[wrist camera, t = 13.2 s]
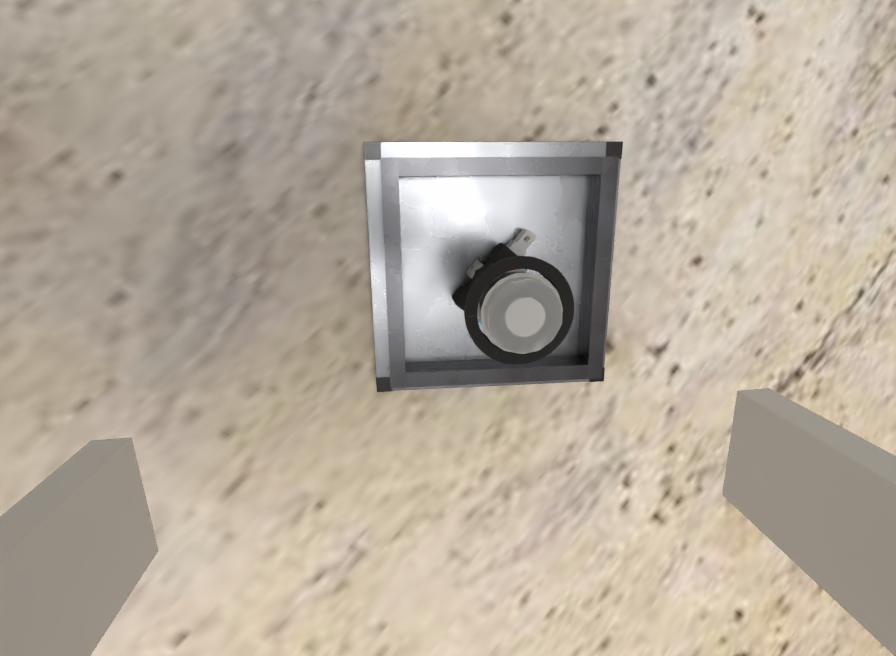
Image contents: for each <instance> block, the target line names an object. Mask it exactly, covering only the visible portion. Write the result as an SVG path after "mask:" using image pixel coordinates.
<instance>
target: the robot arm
mask: <svg viewBox="0 0 896 656" xmlns="http://www.w3.org/2000/svg"><path fill="white" fill-rule="evenodd" d="M722 495H723V496H724V497H725V498H726V499H727V500H728V501H729V502H730V503H731V504H732V505H734V506H735V507H736V508H737V509H738V510H739V511H740V512H741V513H742V514H743V515H744V516H745V517H746V518H747V519H749V520H750V521H751V522H752V523H753V524H754V525H755V526H756V527H757V528H758V529H759V530H760V531H761V532H762V533H764V534H765V535H766V536H767V537H768V538H769V539H770V540H771V541H772V542H773V543H774V544H775V545H776V546H777V547H779V548H780V549H781V550H782V551H783V552H784V553H785V554H786V555H787V556H788V557H789V558H790V559H791V560H792V561H794V562H795V563H796V564H797V565H798V566H799V567H800V568H801V569H802V570H803V571H804V572H805V573H806V574H807V575H809V576H810V577H811V578H812V579H813V580H814V581H815V582H816V583H817V584H818V585H819V586H820V587H821V588H822V589H824V590H825V591H826V592H827V593H828V594H829V595H830V596H831V597H832V598H833V599H834V600H835V601H836V602H837V603H839V604H840V605H841V606H842V607H843V608H844V609H845V610H846V611H847V612H848V613H849V614H850V615H851V616H852V617H853V618H855V619H856V620H857V621H858V622H859V623H860V624H861V625H862V626H863V627H864V628H865V629H866V630H867V631H868V632H870V633H871V634H872V635H873V636H874V637H875V638H876V639H877V640H878V641H879V642H880V643H881V644H882V645H883V646H885V647H886V648H887V649H888V650H889V651H890V652H891V653H892V654H893V655H894V656H896V456H894V455H893V454H891V453H889V452H887V451H885V450H883V449H881V448H879V447H878V446H876V445H874V444H872V443H870V442H868V441H866V440H864V439H863V438H861V437H859V436H857V435H855V434H853V433H851V432H849V431H848V430H846V429H844V428H842V427H840V426H838V425H836V424H835V423H833V422H831V421H829V420H827V419H825V418H823V417H821V416H820V415H818V414H816V413H814V412H812V411H810V410H808V409H806V408H805V407H803V406H801V405H799V404H797V403H795V402H793V401H791V400H790V399H788V398H786V397H784V396H782V395H780V394H778V393H776V392H775V391H773V390H771V389H769V388H767V389H754V390H741V391H737V398H736V405H735V411H734V418H733V425H732V432H731V439H730V446H729V452H728V459H727V466H726V473H725V480H724V487H723V493H722ZM157 552H158V547H157V543H156V538H155V534H154V530H153V526H152V522H151V517H150V513H149V509H148V505H147V501H146V496H145V492H144V488H143V484H142V480H141V476H140V471H139V467H138V463H137V459H136V455H135V450H134V446H133V442H132V438H119V439H106V440H93V441H90V442H89V443H88V444H87V445H86V446H84V447H83V448H82V449H81V450H80V451H78V452H77V453H76V454H75V455H74V456H72V457H71V458H70V459H69V460H68V461H66V462H65V463H64V464H63V465H62V466H60V467H59V468H58V469H57V470H56V471H55V472H53V473H52V474H51V475H50V476H49V477H47V478H46V479H45V480H44V481H43V482H41V483H40V484H39V485H38V486H37V487H35V488H34V489H33V490H32V491H31V492H29V493H28V494H27V495H26V496H25V497H23V498H22V499H21V500H20V501H19V502H17V503H16V504H15V505H14V506H13V507H12V508H10V509H9V510H8V511H7V512H6V513H4V514H3V515H2V516H1V517H0V656H90V655H91V654H92V652H93V651H94V649H95V647H96V646H97V644H98V643H99V641H100V640H101V638H102V637H103V635H104V634H105V632H106V630H107V629H108V627H109V626H110V624H111V623H112V621H113V620H114V618H115V617H116V615H117V614H118V612H119V610H120V609H121V607H122V606H123V604H124V603H125V601H126V600H127V598H128V597H129V595H130V593H131V592H132V590H133V589H134V587H135V586H136V584H137V583H138V581H139V580H140V578H141V576H142V575H143V573H144V572H145V570H146V569H147V567H148V566H149V564H150V563H151V561H152V560H153V558H154V556H155V555H156V553H157Z"/></svg>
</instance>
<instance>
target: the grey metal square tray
mask: <svg viewBox="0 0 896 656" xmlns="http://www.w3.org/2000/svg"><path fill="white" fill-rule="evenodd" d="M622 145H623V142H364V157H365V174H366V193H367V212H368V231H369V249H370V268H371V287H372V306H373V325H374V343H375V362H376V383H377V392H385V391H394V390H415V389H436V388H458V387H479V386H500V385H521V384H543V383H564V382H585V381H590V382H597V381H604V369H605V368H604V361H605V349H606V336H607V324H608V311H609V299H610V286H611V274H612V261H613V249H614V236H615V224H616V211H617V199H618V186H619V174H620V161H621V157H622ZM522 229H526V230H530V231H531V232H532V233H533V234H534V235H535V236H536V239H535V240H534V241H533V242H532V244H531V245H530V246H529V247H528V249H527V250H526V252H527V253H526V255H525V256H531V257H535V258H539V259H541V260H543V261H546V262H548V263H549V264H551V265H553V266H554V267H555V268H557V269H558V270H559V271H560V272H561V273H562V275H563V276H564V277H565V278H566V280H567V282H568V283H569V286H570V288H571V291H572V294H573V298H574V316H573V321H572V324H571V327H570V329H569V332H568V333H567V335H566V337H565V338H564V340H563V341H562V342H561V344H560V345H559V346H558V347H557V348H556V349H555V350H554V351H552V352H551V353H550V354H548V355H547V356H545V357H544V358H542V359H540V360H537V361H534V362H531V363H527V364H519V365H515V364H506V363H501V362H499V361H496V360H494V359H492V358H490V357H488V356H487V355H485V354H484V353H483V352H482V351H481V350H480V349H479V348H478V347H477V346H476V345H475V344H474V342H473V340H472V339H471V337H470V335H469V333H468V330H467V327H466V323H465V317H464V311H463V310H462V309H460V308H459V307H458V306H457V305H455V303H454V301H453V299H452V295H453V294H454V292H455V291H456V290H457V289H458V288H459V287H460V286H467V285H468V284H469V283H470V282H471V280H472V278H470V277H469V276H468V275H467V273H466V272H467V270H468V269H469V268H470V267H471V266H472V264H473V263H474V262H475V261H476V260H478V261H479V262H480V263H481V264H482V265H484V264H485V263H486V262H487V261H488V259H489V258H490V256H491V254H492V251H493V250H494V248H495V247H496V246H497V245H498V244H499V243H503V244H505V245H507V244H508V243H509V242H510V240H512V241H513V240H514V239H515V238H516V237H517V236H518V234H519V233H520V232H521V231H522ZM525 240H526V237H525V238H524V241H525ZM529 241H530V240H529ZM529 241H528V242H529ZM473 267H474V266H473ZM527 273H534V274H536V275H538V276H541V277H543V276H542V275H541V274H540V273H539V272H537V271H534V270H529V269H528V270H527ZM543 278H544V277H543ZM478 324H479V327H480V330H481V331H482V332H483V333H484V334H485V335H486V333H485V332H484V330H483V327H482V324H480V323H478ZM486 336H487V335H486Z"/></svg>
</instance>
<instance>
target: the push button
mask: <svg viewBox="0 0 896 656" xmlns="http://www.w3.org/2000/svg"><path fill="white" fill-rule="evenodd" d="M525 237H526V240H525V241H524V238H525ZM535 239H536V236H535V235H534V234H533V233H532V232H531V231H530V230H526V229H522V231H521V232H520V233H519V234H518V236H517V237H516V238H515V239H514V240H513V241H512V240H510V242H509V243H508V244H507V245H505V244H503V243H499V244H498V245H497V246H496V247H495V248H494V250H493V251H492V254H491V256H490V258H489V259H488V261H487V262H486V263H485V264H484V265H482V264H481V263H480V262H479V261H478V260H476V261H475V262H474V263H473V264H472V266H471V267H470V268H469V269H468V270H467V272H466V273H467V275H468V276H469V277H470V278H472V280H471V282H470V283H469V284H468V285H467V286H460V287H459V288H458V289H457V290H456V291H455V292H454V294H453V295H452V299H453V301H454V303H455V305H457V306H458V307H459V308H460V309H462V310H463V311H464V317H465V323H466V327H467V330H468V333H469V335H470V337H471V339H472V340H473V342H474V344H475V345H476V346H477V347H478V348H479V349H480V350H481V351H482V352H483V353H484V354H485V355H487V356H488V357H490V358H492V359H494V360H496V361H499V362H501V363H506V364H515V365H519V364H527V363H531V362H534V361H537V360H540V359H542V358H544V357H545V356H547V355H548V354H550V353H551V352H552V351H554V350H555V349H556V348H557V347H558V346H559V345H560V344H561V342H562V341H563V340H564V338H565V337H566V335H567V333H568V332H569V329H570V327H571V324H572V321H573V316H574V298H573V294H572V291H571V288H570V286H569V283H568V282H567V280H566V278H565V277H564V276H563V275H562V273H561V272H560V271H559V270H558V269H557V268H555V267H554V266H553V265H551V264H549V263H548V262H546V261H543V260H541V259H539V258H535V257H531V256H525V255H526V253H527V252H526V250H527V249H528V247H529V246H530V245H531V244H532V242H533V241H534V240H535ZM529 240H530V241H529ZM528 241H529V242H528ZM473 266H474V267H473ZM528 269H529V270H534V271H537V272H539V273H540V274H541V275H542V276H543V277H544V278H543V277H541V276H538V275H536V274H534V273H527V270H528ZM478 323H480V324H482V327H483V330H484V332H485V333H486V335H487V336H486V335H485V334H484V333H483V332H482V331H481V330H480V327H479V324H478Z"/></svg>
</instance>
